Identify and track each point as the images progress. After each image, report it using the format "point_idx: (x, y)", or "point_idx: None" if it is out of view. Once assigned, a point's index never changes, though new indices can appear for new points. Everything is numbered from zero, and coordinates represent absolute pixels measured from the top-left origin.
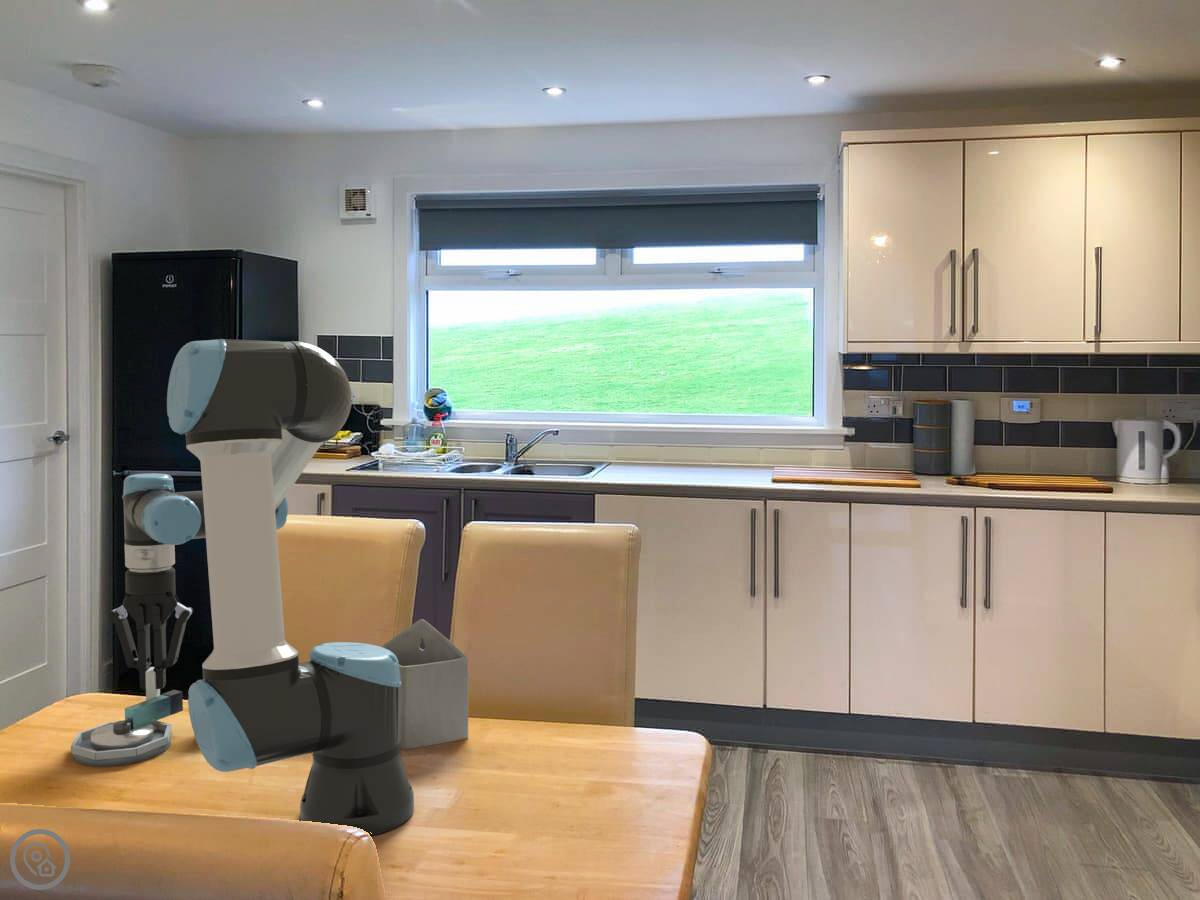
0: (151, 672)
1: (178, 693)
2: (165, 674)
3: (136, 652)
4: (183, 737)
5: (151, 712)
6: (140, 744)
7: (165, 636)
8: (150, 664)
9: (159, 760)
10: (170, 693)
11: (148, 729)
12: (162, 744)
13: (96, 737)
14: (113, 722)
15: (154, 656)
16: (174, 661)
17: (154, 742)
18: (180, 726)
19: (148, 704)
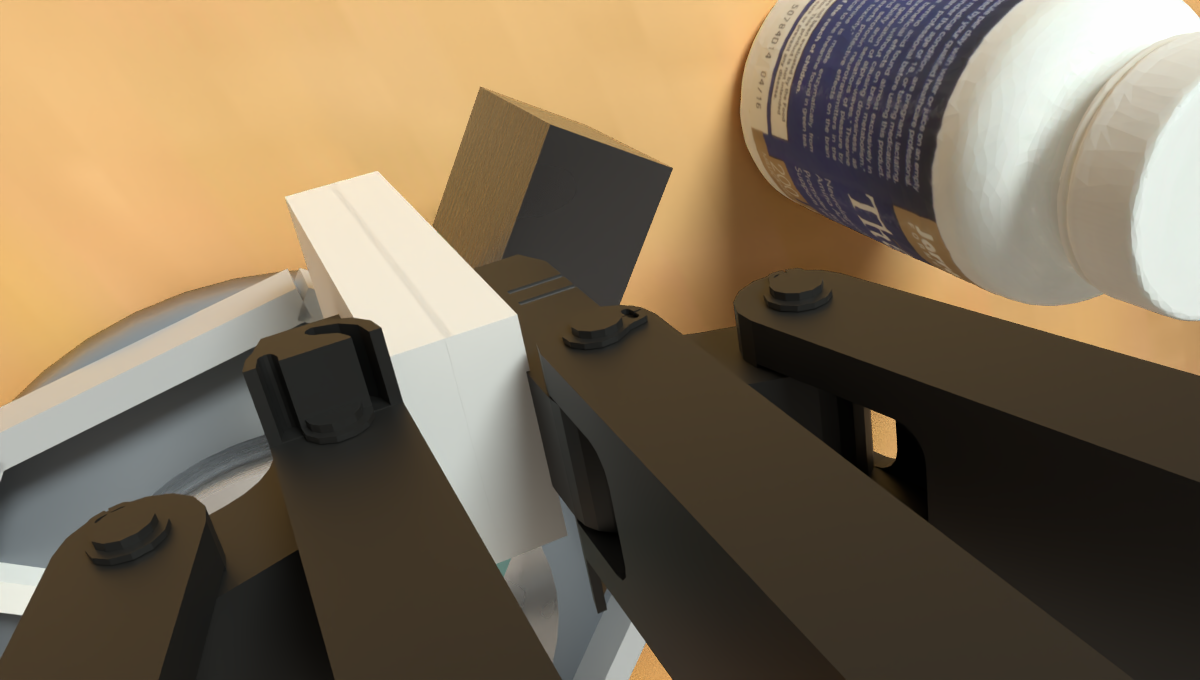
0: (524, 547)
1: (648, 217)
2: (592, 304)
3: (182, 642)
4: (624, 292)
5: None
6: None
7: (990, 595)
8: (389, 379)
9: (646, 644)
10: (578, 259)
11: (519, 579)
12: None
13: None
14: (24, 453)
15: (668, 667)
16: (878, 457)
17: (630, 667)
18: (492, 71)
19: (504, 566)
